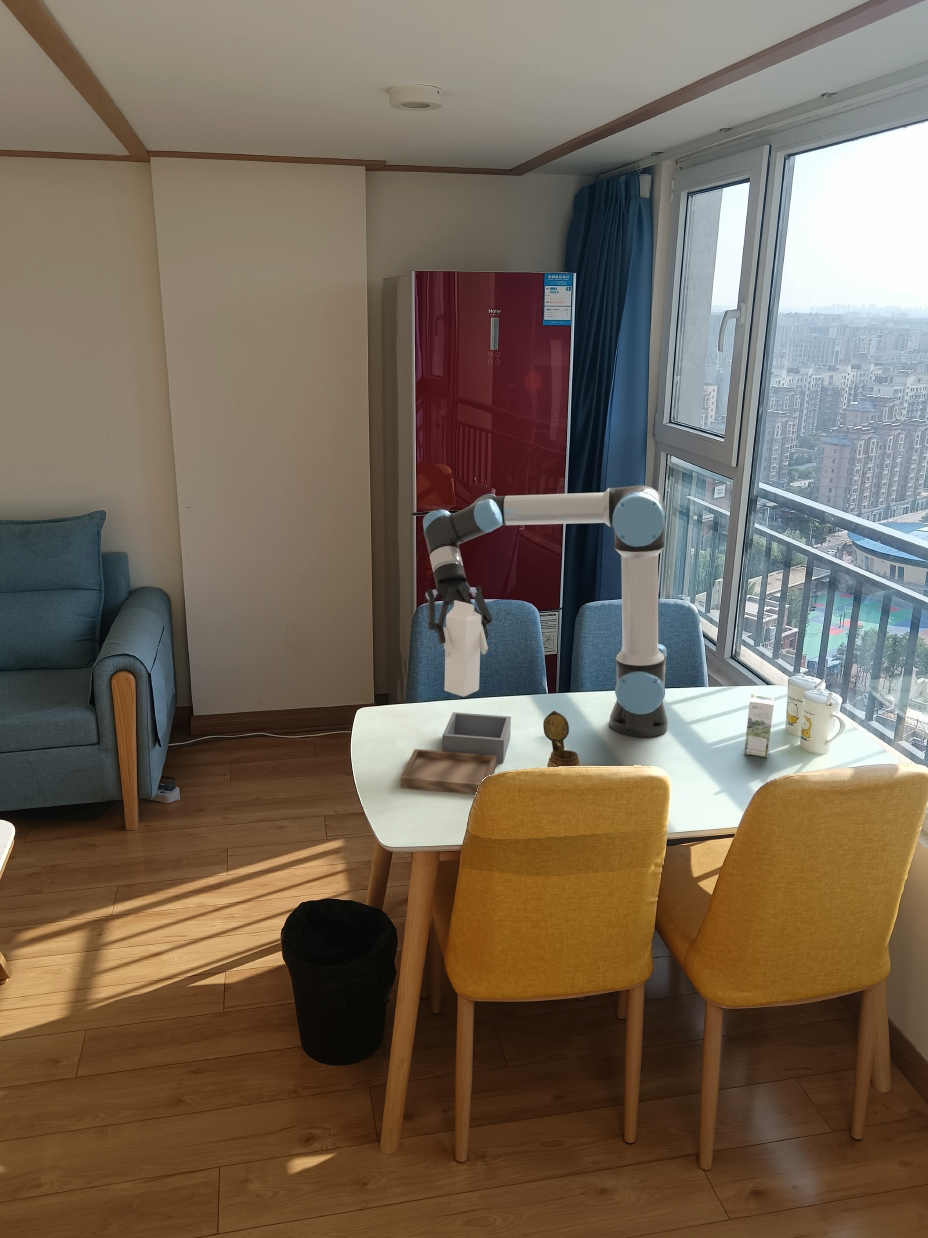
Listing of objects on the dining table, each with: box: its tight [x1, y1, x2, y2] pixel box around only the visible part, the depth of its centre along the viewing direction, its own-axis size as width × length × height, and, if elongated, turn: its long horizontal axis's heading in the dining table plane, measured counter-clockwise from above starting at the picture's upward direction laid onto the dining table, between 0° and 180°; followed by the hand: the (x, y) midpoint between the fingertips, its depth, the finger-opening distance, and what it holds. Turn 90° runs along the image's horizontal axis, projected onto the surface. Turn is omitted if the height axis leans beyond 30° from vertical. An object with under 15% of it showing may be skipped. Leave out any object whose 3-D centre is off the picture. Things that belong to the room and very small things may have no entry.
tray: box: [399, 748, 497, 795], centre depth 228 cm, size 20×16×2 cm
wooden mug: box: [542, 710, 581, 768], centre depth 217 cm, size 9×14×18 cm, turn 13°
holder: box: [441, 711, 512, 764], centre depth 243 cm, size 15×15×6 cm
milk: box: [444, 600, 481, 698], centre depth 231 cm, size 6×6×22 cm
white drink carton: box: [743, 693, 775, 758], centre depth 242 cm, size 6×6×14 cm
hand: (467, 653), depth 228 cm, fingers closed on milk, 8 cm apart
